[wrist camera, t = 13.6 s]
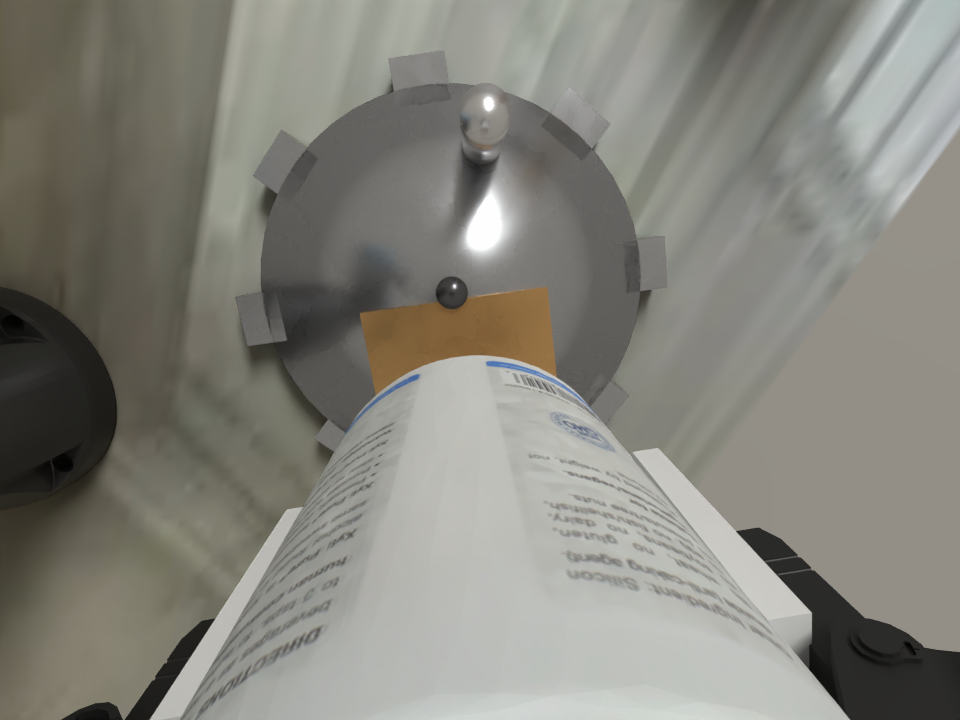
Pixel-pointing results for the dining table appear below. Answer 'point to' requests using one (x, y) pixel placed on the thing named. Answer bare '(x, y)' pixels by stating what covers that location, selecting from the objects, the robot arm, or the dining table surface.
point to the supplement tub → (497, 578)
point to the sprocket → (447, 244)
